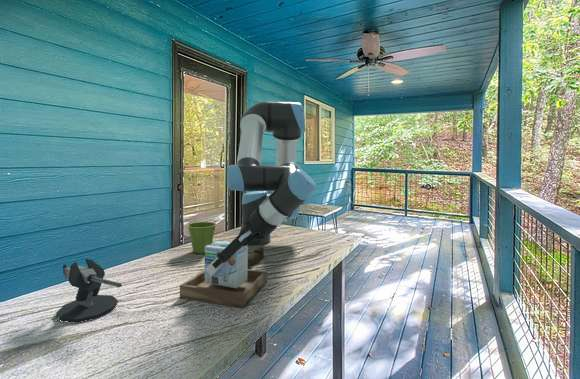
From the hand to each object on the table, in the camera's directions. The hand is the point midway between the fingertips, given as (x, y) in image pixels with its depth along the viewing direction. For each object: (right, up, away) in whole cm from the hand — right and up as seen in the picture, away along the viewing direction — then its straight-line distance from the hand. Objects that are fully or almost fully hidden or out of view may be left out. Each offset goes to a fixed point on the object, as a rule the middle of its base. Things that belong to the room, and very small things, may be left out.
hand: (215, 267), depth 86 cm
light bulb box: (+3, -4, -1) cm, 5 cm away
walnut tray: (+3, -6, 0) cm, 7 cm away
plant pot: (-14, -3, +36) cm, 39 cm away
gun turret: (-26, -7, -14) cm, 30 cm away
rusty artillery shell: (+7, -5, +22) cm, 23 cm away
